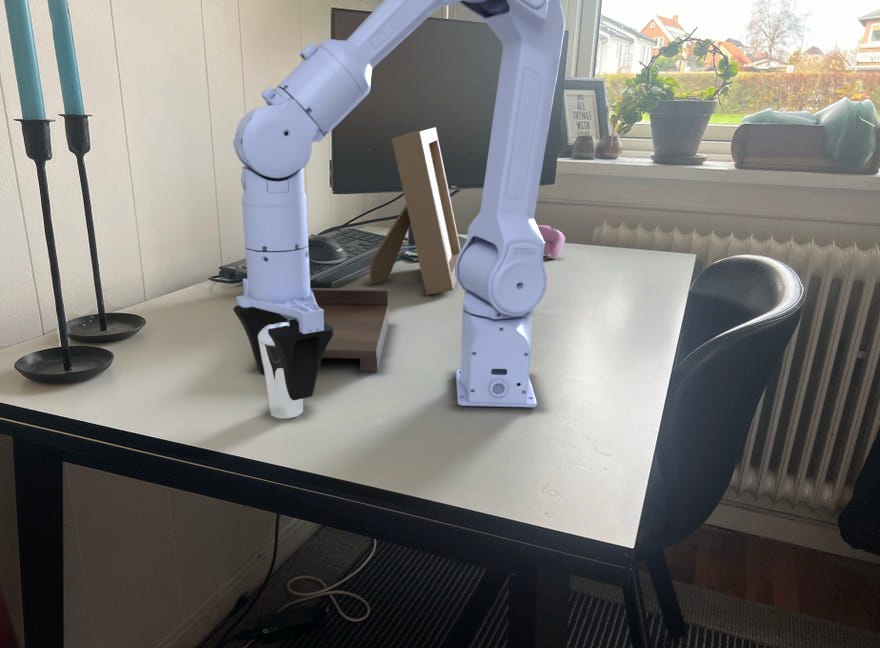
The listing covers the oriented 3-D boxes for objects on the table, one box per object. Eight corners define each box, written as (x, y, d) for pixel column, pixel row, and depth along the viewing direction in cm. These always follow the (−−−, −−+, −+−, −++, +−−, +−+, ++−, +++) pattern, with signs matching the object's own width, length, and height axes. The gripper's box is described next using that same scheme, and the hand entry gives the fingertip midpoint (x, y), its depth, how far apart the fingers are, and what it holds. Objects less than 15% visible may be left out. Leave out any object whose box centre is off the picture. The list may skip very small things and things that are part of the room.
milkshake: (266, 427, 67) (259, 327, 64) (261, 405, 72) (254, 311, 69) (313, 422, 68) (309, 323, 65) (305, 401, 73) (301, 308, 70)
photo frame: (463, 266, 133) (467, 127, 125) (452, 296, 113) (457, 131, 104) (385, 264, 135) (384, 126, 127) (362, 292, 115) (359, 131, 107)
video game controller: (561, 264, 142) (569, 231, 143) (555, 257, 138) (563, 223, 139) (516, 258, 147) (524, 226, 148) (508, 252, 143) (516, 219, 144)
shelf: (376, 375, 80) (376, 333, 79) (254, 373, 81) (251, 331, 79) (388, 323, 99) (388, 288, 97) (289, 322, 100) (287, 287, 98)
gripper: (209, 238, 68) (221, 369, 73) (265, 265, 57) (275, 419, 61) (277, 231, 72) (284, 357, 77) (343, 256, 60) (347, 402, 65)
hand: (285, 384), depth 69 cm, fingers open, 7 cm apart
